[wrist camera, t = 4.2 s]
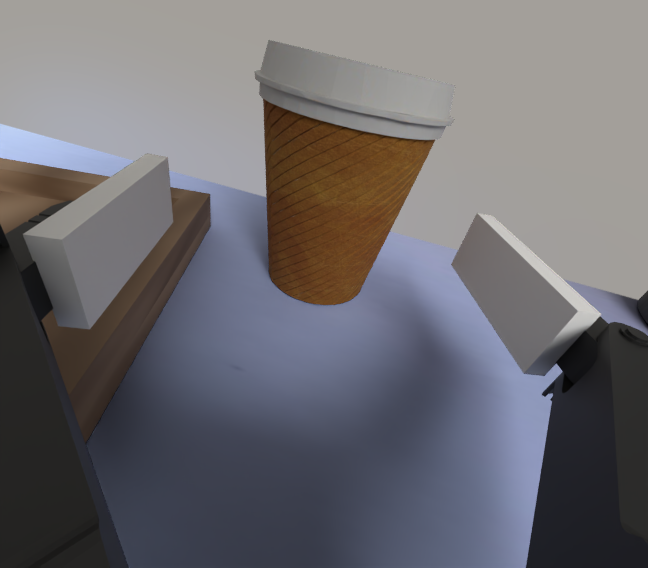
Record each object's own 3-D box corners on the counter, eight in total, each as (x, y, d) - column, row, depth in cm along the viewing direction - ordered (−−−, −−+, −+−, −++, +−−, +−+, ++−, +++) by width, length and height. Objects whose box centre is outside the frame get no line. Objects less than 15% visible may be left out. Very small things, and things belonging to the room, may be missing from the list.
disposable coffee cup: (210, 270, 20) (206, 24, 13) (302, 228, 27) (332, 55, 20) (338, 352, 16) (427, 79, 9) (405, 279, 23) (484, 92, 17)
